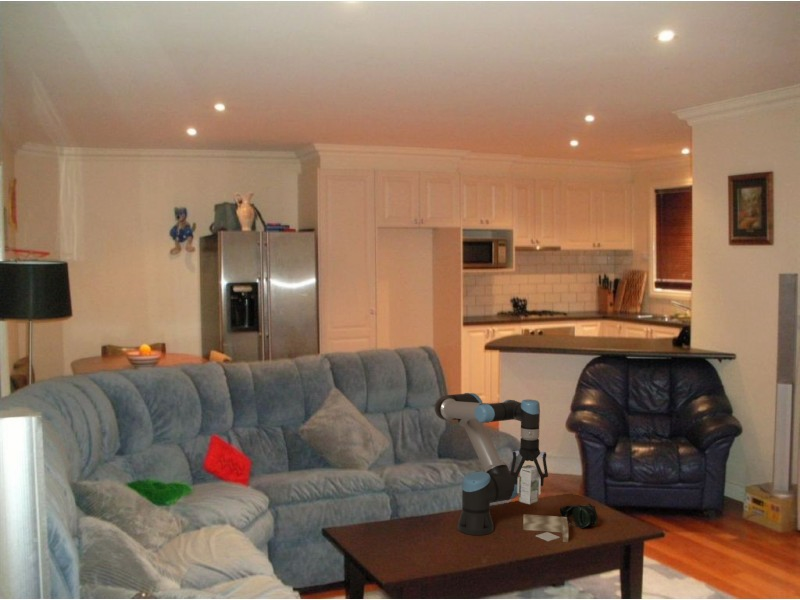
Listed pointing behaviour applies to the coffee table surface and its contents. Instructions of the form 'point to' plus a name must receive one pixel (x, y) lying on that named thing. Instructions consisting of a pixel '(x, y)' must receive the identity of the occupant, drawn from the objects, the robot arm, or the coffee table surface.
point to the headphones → (580, 514)
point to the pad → (547, 536)
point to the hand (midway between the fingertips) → (528, 492)
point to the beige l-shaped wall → (546, 524)
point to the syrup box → (528, 484)
